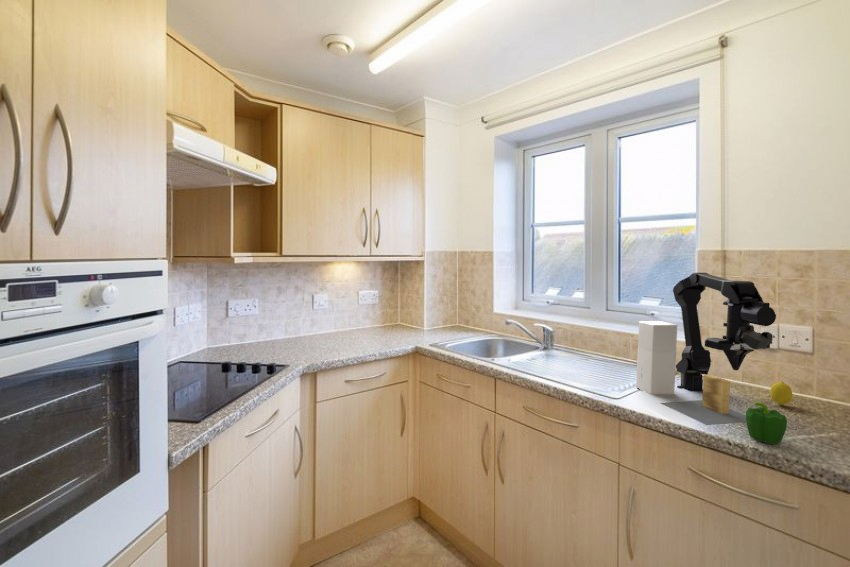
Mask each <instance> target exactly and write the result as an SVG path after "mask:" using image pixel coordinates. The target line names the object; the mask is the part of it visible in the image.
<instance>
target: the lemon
mask: <svg viewBox="0 0 850 567" xmlns="http://www.w3.org/2000/svg"><path fill="white" fill-rule="evenodd" d="M769 395H770V398H771V400H772V401H773V402H775V403H776V404H778V406H780V405H782V406H783V405H787V404H789V403H791V401H793V400H792V399H793V391H792V388H791V386H790V385H788V384H787V383H786V382H784V381H779V382H776V383H773V384H772V386H771V387H770V390H769Z"/></svg>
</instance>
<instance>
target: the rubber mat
mask: <svg viewBox="0 0 850 567" xmlns="http://www.w3.org/2000/svg"><path fill="white" fill-rule="evenodd" d="M702 403H703V399H702V400H701V399H700V400H684V401H669V402H668V401H667V402H660V404H661V405H663V406H666V407H668V408H669V409H672V410H673V411H676V412H679V413H680V414H682V415H684V416H686V417H688V418H691V419H692V420H695V421H697V422H699V423H701V424H704V425H706V426H711V425H723V424H736V423H737V424H738V423H746V414H743V413H741V412H738V411H736V410H733V409H731V408H729V413H726V414H721V413H718V412H716V411H714V410H711V409H709V408H707V407H704V406H702Z"/></svg>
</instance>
